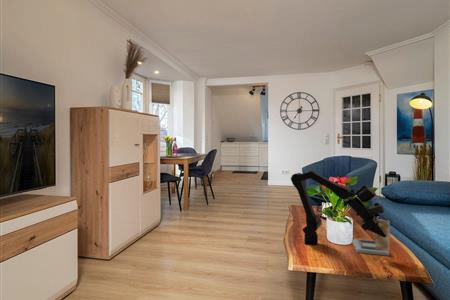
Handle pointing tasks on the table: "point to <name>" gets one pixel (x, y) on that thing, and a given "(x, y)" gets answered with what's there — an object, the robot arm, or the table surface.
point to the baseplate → (367, 247)
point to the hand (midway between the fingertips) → (386, 235)
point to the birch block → (380, 241)
